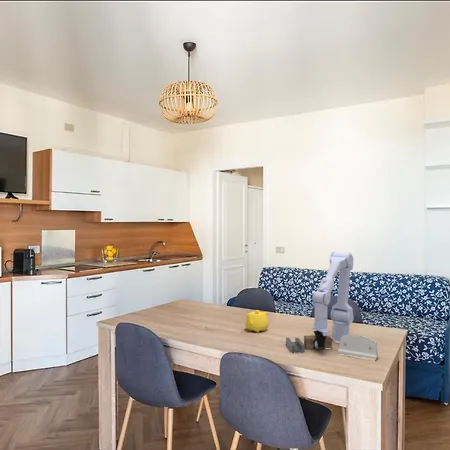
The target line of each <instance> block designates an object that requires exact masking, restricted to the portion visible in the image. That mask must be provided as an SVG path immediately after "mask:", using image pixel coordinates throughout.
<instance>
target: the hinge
mask: <svg viewBox="0 0 450 450" xmlns="http://www.w3.org/2000/svg"><path fill="white" fill-rule="evenodd" d="M338 354H344V355H352V356H358V357H366V358H372V359H376V360H377V359H378V358H379V355H378V343H377V341H376V340H374V339H373V338H370V337H367V336H365V335H360V334H349V335H345V336H342V337H341V340H340V343H338V349H337V355H338ZM377 357H378V358H377Z"/></svg>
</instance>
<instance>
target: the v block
mask: <svg viewBox="0 0 450 450" xmlns="http://www.w3.org/2000/svg"><path fill="white" fill-rule="evenodd" d="M294 339H295V341H292V339H291V338H290V337H285V346H286V347H287V346H288V347H287V349H288V350H289V349H290V350H289V351H290V353H291V352H306V348H305V345H304V342H303V341H302V340H301V339H300V338H299V337H295V338H294Z"/></svg>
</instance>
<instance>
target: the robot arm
mask: <svg viewBox="0 0 450 450" xmlns="http://www.w3.org/2000/svg"><path fill="white" fill-rule="evenodd" d="M329 264H330V265H329V268H328V271H327V274H326V277H324V278H322V279H321V282H320V284H319V286H318V288H317V290H316V291H314V292H313V294H312V298H311V300H312V303H313V307H314V321H313V322H314V323H313V326H311V329H312V330H314V331H313V333H314V334H313V335H315V336H316V340H317V346H318V348H322V349H324V348H323V346H324V342H325V339H326V337H327V336H329V331H328V330H329V328H328V308H329V307H328V305H329V304H330V302H331V296H332V294H331V293H332V291H333V288H334V286H335V281H334V280H335V278H336V276H337V274H338V273H339V276H338V287H337V299H336V300H337V301H336V303H335V304H333V305H332V306H331V311H330V319H331V321H332V325H331V327H332V328H331V330H332V331H331V337H333V338H334V340H335V343H336V341H338V342H340V340H341V337H342V336H345V335H350V325H351V324H352V323H353V321H354V308H353V307H352V306H351V305H350V304H349V294H350V293H349V292H350V278H351V271H352V270H353V269H354V268H353V267H354V256H353V254H352V253H351V252H335V251H333V252H331V253H330V255H329ZM333 338H332V339H333Z"/></svg>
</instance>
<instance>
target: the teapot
mask: <svg viewBox="0 0 450 450" xmlns="http://www.w3.org/2000/svg"><path fill="white" fill-rule="evenodd" d="M245 316H246V319H245V328H246V329H248V331H250V332H251V331H255V333H256V334H257V333H260V331H262V332H265V330H267V329H268V328H269V325H270V324H269V323H270V321H269V318H268V312H267V311H260V310H259V309H256V310H254V311H251V312H249V313H247V314H245Z"/></svg>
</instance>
